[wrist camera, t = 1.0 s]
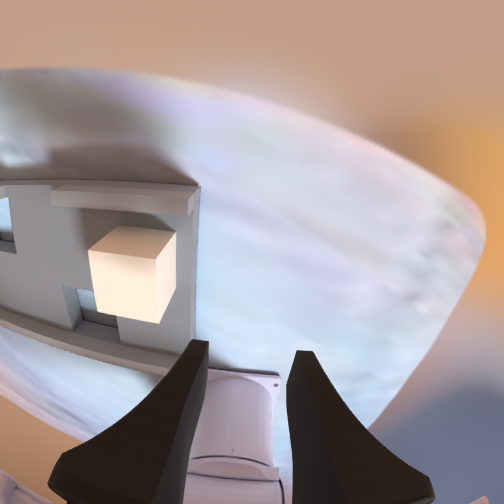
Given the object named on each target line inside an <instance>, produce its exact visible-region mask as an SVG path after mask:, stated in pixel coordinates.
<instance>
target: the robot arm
mask: <svg viewBox="0 0 504 504" xmlns="http://www.w3.org/2000/svg"><path fill="white" fill-rule="evenodd" d="M208 349H209V341H202V340H195V339H192V340H191V341H189V343H188V345H187V347H186V348H185V350H184V351H183V353H182V354H181V356H180V357H179V359H178V360H177V361H176V363H175V364H174V365H173V367H172V368H171V369H170V370H169V372H168V373H167V374H166V375H165V377H164V378H163V379H162V380H161V381H160V382H159V383H158V385H157V386H156V387H155V388H154V389H153V390H152V391H151V392H150V393H149V394H148V395H147V396H146V397H145V398H144V399H143V400H142V401H141V402H140V403H139V404H138V405H137V406H136V407H135V408H133V409H132V410H131V411H130V412H129V413H128V414H126V415H125V416H124V417H123V418H121V419H120V420H119V421H117V422H116V423H115V424H113V425H112V426H111V427H109V428H107V429H106V430H104V431H103V432H101V433H100V434H98V435H96V436H95V437H93V438H92V439H90V440H88V441H86V442H85V443H83V444H81V445H79V446H77V447H74V448H72V449H70V450H68V451H66V452H64V453H62V455H61V456H60V458H59V459H58V461H57V463H56V464H55V466H54V468H53V471H52V473H51V476H50V478H49V481H48V483H47V484H48V486H49V488H50V489H51V490H52V491H53V492H55V493H56V494H57V495H59V496H60V497H62V498H63V499H64V500H66V501H67V504H430V503H432V502H433V501H434V499H435V495H434V491H433V487H432V484H431V482H430V479H429V477H428V476H426V475H424V474H423V473H421V472H419V471H418V470H416V469H414V468H413V467H411V466H409V465H408V464H406V463H405V462H404V461H402V460H401V459H399V458H398V457H397V456H395V455H394V454H393V453H392V452H390V451H389V450H388V449H387V448H386V447H385V446H383V445H382V444H381V443H380V442H379V441H378V440H377V439H376V438H375V437H374V436H373V435H372V434H371V433H370V432H369V431H368V430H367V429H366V428H365V427H364V426H363V425H362V424H361V423H360V421H359V420H358V419H357V418H356V417H355V415H354V414H353V413H352V412H351V410H350V409H349V408H348V406H347V405H346V404H345V402H344V401H343V400H342V398H341V397H340V395H339V394H338V392H337V391H336V389H335V388H334V386H333V385H332V383H331V382H330V380H329V378H328V377H327V375H326V373H325V372H324V370H323V368H322V367H321V365H320V363H319V361H318V359H317V358H316V356H315V354H314V353H313V351H300V350H297V351H296V355H295V358H294V361H293V365H292V368H291V371H290V374H289V378H288V381H287V384H286V408H287V416H288V425H289V433H290V441H291V449H292V460H293V485H292V484H291V483H290V482H289V480H288V479H286V478H279V468H278V467H274V454H273V411H274V408H275V404H276V401H277V398H278V395H279V391H280V388H281V384H282V377H280V376H275V375H262V374H251V373H241V372H232V371H224V370H216V369H208ZM276 383H277V384H276ZM0 504H54V503H52V502H50V501H48V500H46V499H44V498H43V497H41V496H39V495H37V494H36V493H34V492H32V491H30V490H29V489H27V488H26V487H24V486H22V485H21V484H19V483H18V482H16V480H15V479H13V478H12V477H11V476H10V475H8V474H7V473H5V472H4V471H3V470H1V469H0ZM470 504H489V502H488V499H487V496H483V497H481V498H480V499H478V500H476V501H474V502H472V503H470Z"/></svg>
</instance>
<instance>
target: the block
mask: <svg viewBox="0 0 504 504" xmlns="http://www.w3.org/2000/svg"><path fill="white" fill-rule="evenodd" d="M88 255H89V263H90V270H91V277H92V283H93V289H94V295H95V300H96V306H97V311H98V312H102V313H107V314H111V315H116V316H121V317H126V318H131V319H136V320H141V321H147V322H152V323H158V324H159V323H160V321H161V318H162V316H163V314H164V312H165V310H166V308H167V306H168V304H169V301H170V299H171V297H172V295H173V293H174V291H175V289H176V231H166V230H157V229H148V228H138V227H129V226H119V225H118V226H117V227H116V228H115V229H113V230H112V231H111V232H109V233H108V234H107V235H106V236H104V237H103V238H102V239H101V240H99V241H98V242H97V243H96V244H95V245H93V246H92V247H91V248H90V249H89V250H88Z"/></svg>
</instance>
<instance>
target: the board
mask: <svg viewBox="0 0 504 504" xmlns="http://www.w3.org/2000/svg"><path fill="white" fill-rule="evenodd" d="M200 192H201V186H190V185H177V184H164V183H149V182H132V181H110V180H75V179H24V180H0V199H2V198H4V197H8V198H9V207H10V215H11V223H12V229H13V236H14V241H15V243H14V242H8V241H3V240H0V326H3V327H5V328H7V329H9V330H12V331H14V332H17V333H19V334H22V335H24V336H27V337H29V338H32V339H34V340H37V341H40V342H42V343H45V344H48V345H51V346H54V347H56V348H59V349H62V350H65V351H69V352H72V353H75V354H78V355H81V356H85V357H88V358H91V359H95V360H98V361H102V362H106V363H109V364H113V365H117V366H121V367H125V368H129V369H134V370H138V371H143V372H147V373H152V374H157V375H162V376H165V375H166V374H167V373H168V372H169V370H170V369H171V368H172V367H173V365H174V364H175V363H176V361H177V360H178V359H179V357H180V356H181V354H182V353H183V351H184V350H185V348H186V347H187V345H188V343H189V341H191V340H192V339H195V310H196V268H197V243H198V224H199V207H200ZM118 225H119V226H129V227H138V228H148V229H157V230H166V231H176V289H175V291H174V293H173V295H172V297H171V299H170V301H169V304H168V306H167V308H166V310H165V312H164V314H163V316H162V318H161V321H160V323H159V324H158V323H152V322H147V321H141V320H136V319H131V318H126V317H121V316H116V318H117V324H118V328H114V327H110V326H105V325H101V324H97V323H93V322H89V321H85V320H83V317H82V313H81V309H80V304H79V300H78V295H77V290H76V288H79V289H84V290H89V291H94V289H93V283H92V277H91V270H90V263H89V255H88V250H89V249H90V248H91V247H92V246H93V245H95V244H96V243H97V242H98V241H99V240H101V239H102V238H103V237H104V236H106V235H107V234H108V233H109V232H111V231H112V230H113V229H115V228H116V227H117V226H118Z"/></svg>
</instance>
